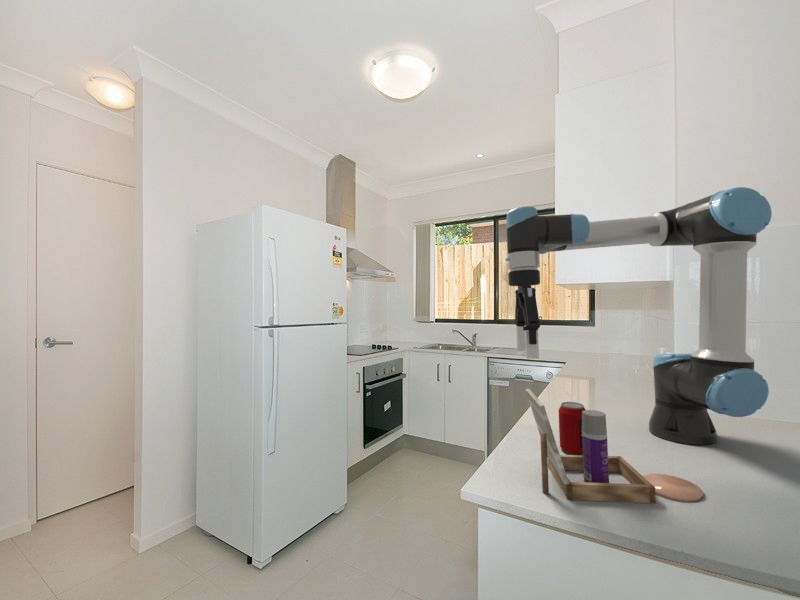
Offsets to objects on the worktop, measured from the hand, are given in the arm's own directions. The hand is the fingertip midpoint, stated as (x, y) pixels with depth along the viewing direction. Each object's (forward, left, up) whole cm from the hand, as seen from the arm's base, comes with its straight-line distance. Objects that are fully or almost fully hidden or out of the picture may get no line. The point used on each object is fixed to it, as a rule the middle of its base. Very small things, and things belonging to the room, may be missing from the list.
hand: (527, 354), depth 90 cm
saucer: (-25, +13, -26) cm, 38 cm away
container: (-11, +12, -26) cm, 31 cm away
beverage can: (-12, -5, -26) cm, 29 cm away
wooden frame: (-9, +12, -26) cm, 30 cm away
